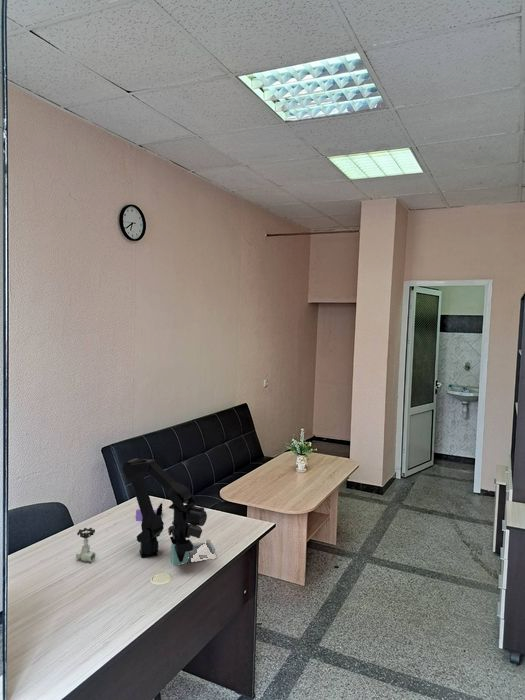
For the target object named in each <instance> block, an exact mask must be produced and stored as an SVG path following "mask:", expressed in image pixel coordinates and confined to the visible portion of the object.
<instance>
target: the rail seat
mask: <svg viewBox="0 0 525 700" xmlns="http://www.w3.org/2000/svg"><path fill="white" fill-rule="evenodd" d="M205 543H206V545H207V547H208V548H209V550H210V552H211V553H212V554H214V553H215V554H216V547H215V546H214V544H213V543H212V541H211V540H210V539H208V538H207V539H206V542H202V543H200V542H195V543H193V542H192V544H193V550H192V551H189V555H188V557H189V559H190V561H191V558H193V555H195V554H196V553H197V549H198V548H199V547H200V546H201V545H203V544H205ZM199 557H200V559H203V558H208V557H207V555H199ZM189 559H188V560H189ZM190 561H189V562H190Z"/></svg>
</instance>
